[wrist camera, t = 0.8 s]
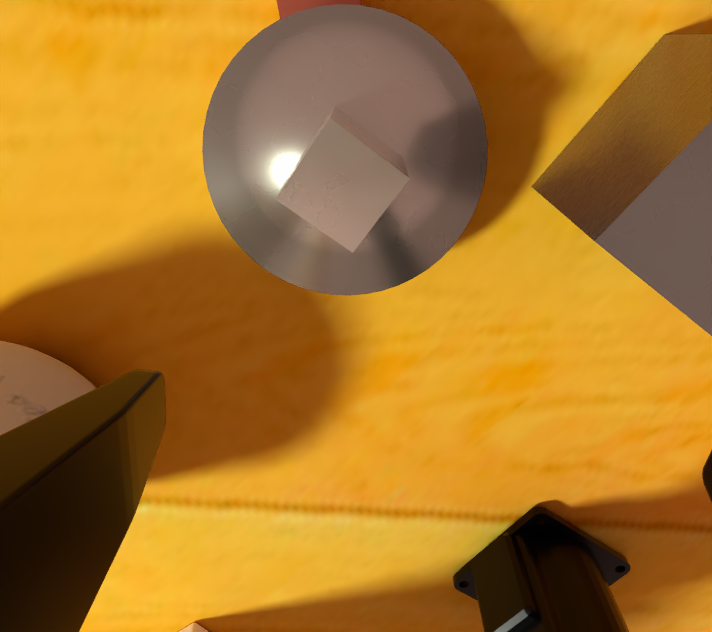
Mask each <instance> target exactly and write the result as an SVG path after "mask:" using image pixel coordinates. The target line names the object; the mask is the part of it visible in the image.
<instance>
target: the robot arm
mask: <svg viewBox="0 0 712 632" xmlns="http://www.w3.org/2000/svg"><path fill="white" fill-rule="evenodd" d="M165 423H166V401H165V381H164V377H163V374H162V373H161V372H159V371H150V370H141V369H136V370H133V371H131V372H129V373H127V374H125V375H123V376H120V377H118V378H116V379H114V380H112V381H110V382H108V383H106V384H104V385H102V386H100V387H98V388H96V389H94V390H92V391H90V392H88V393H86V394H84V395H82V396H79V397H77V398H75V399H73V400H71V401H69V402H67V403H65V404H63V405H61V406H59V407H57V408H55V409H53V410H51V411H49V412H47V413H45V414H43V415H41V416H38V417H36V418H34V419H32V420H30V421H28V422H26V423H24V424H22V425H20V426H18V427H16V428H14V429H12V430H10V431H8V432H6V433H4V434H2V435H0V632H79V631H80V628H81V626H82V624H83V622H84V620H85V618H86V616H87V614H88V612H89V610H90V608H91V606H92V603H93V601H94V599H95V597H96V595H97V593H98V591H99V589H100V587H101V585H102V583H103V581H104V579H105V576H106V574H107V572H108V570H109V568H110V566H111V564H112V562H113V560H114V558H115V556H116V554H117V552H118V549H119V547H120V545H121V543H122V541H123V539H124V537H125V535H126V533H127V531H128V529H129V526H130V524H131V522H132V520H133V517H134V515H135V513H136V510H137V507H138V504H139V502H140V499H141V496H142V493H143V490H144V487H145V484H146V481H147V478H148V475H149V473H150V470H151V467H152V464H153V461H154V458H155V455H156V452H157V449H158V446H159V443H160V440H161V437H162V435H163V432H164V428H165ZM702 477H703V482H704V485H705V488H706V490H707V493H708V495H709V497H710V500H711V502H712V451H711V453H710V455H709V457H708V459H707V461H706V463H705V465H704V467H703V472H702ZM539 517H541V518H539ZM537 518H538V519H537ZM629 571H630V565H629V563H628V561H627V559H626V558H625V557H624V556H622V555H621V554H619V553H617V552H616V551H614V550H613V549H611V548H609V547H608V546H606V545H604V544H603V543H601V542H600V541H598V540H596V539H595V538H593V537H591V536H590V535H588V534H586V533H585V532H583V531H582V530H580V529H578V528H577V527H575V526H573V525H572V524H570V523H568V522H567V521H565V520H564V519H562V518H560V517H559V516H557V515H555V514H554V513H552V512H550V511H549V510H547V509H546V508H543V507H536V508H533V509H532V510H530V511H529V512H528V513H527V514H525V515H524V516H523V517H522V518H521V519H520V520H518V521H517V522H516V523H515V524H514V525H512V526H511V527H510V528H509V529H508V530H506V531H505V532H504V533H503V534H502V535H501V536H499V537H498V538H497V539H496V540H495V541H493V542H492V543H491V544H490V545H489V546H488V547H486V548H485V549H484V550H483V551H482V552H480V553H479V554H478V555H477V556H476V557H475V558H473V559H472V560H471V561H470V562H469V563H467V564H466V565H465V566H464V567H463V568H461V569H460V570H459V571H458V572H457V573H456V574H455V575H454V576H453V581H454V586H455V588H456V589H457V590H459V591H461V592H463V593H465V594H466V595H468V596H470V597H472V598H474V599H476V600H478V604H479V608H480V613H481V618H482V623H483V628H484V632H629V630H628V627H627V625H626V623H625V621H624V619H623V616H622V614H621V612H620V610H619V608H618V605H617V603H616V601H615V599H614V597H613V594H612V592H611V590H610V588H609V586H610V585H611V584H613V583H614V582H616V581H617V580H618V579H620V578H621V577H623V576H624V575H625V574H627V573H628V572H629Z"/></svg>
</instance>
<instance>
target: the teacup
mask: <svg viewBox="0 0 712 632" xmlns="http://www.w3.org/2000/svg"><path fill="white" fill-rule="evenodd" d="M94 389H96V387H95V386H94V385H93V384H92V383H91V382H89V381H88V380H87V379H86V378H85V377H83V376H82V375H81V374H79V373H78V372H77V371H75V370H74V369H73V368H71V367H69V366H68V365H66V364H64V363H63V362H61V361H59V360H57V359H55V358H53V357H51V356H49V355H46V354H44V353H42V352H39V351H37V350H35V349H32V348H29V347H26V346H22V345H19V344H14V343H10V342H5V341H0V435H2V434H4V433H6V432H8V431H10V430H12V429H14V428H16V427H18V426H20V425H22V424H24V423H26V422H28V421H30V420H32V419H34V418H36V417H38V416H41V415H43V414H45V413H47V412H49V411H51V410H53V409H55V408H57V407H59V406H61V405H63V404H65V403H67V402H69V401H71V400H73V399H75V398H77V397H79V396H82V395H84V394H86V393H88V392H90V391H92V390H94Z"/></svg>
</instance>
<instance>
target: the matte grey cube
mask: <svg viewBox="0 0 712 632" xmlns="http://www.w3.org/2000/svg"><path fill="white" fill-rule="evenodd" d="M532 187H533V188H534V189H535V190H536V191H537V192H538V193H539V194H541V195H542V196H543V197H544V198H545V199H546V200H548V201H549V202H550V203H551V204H552V205H553V206H554V207H556V208H557V209H558V210H559V211H560V212H561V213H563V214H564V215H565V216H566V217H567V218H568V219H570V220H571V221H572V222H573V223H574V224H575V225H576V226H578V227H579V228H580V229H581V230H582V231H583V232H585V233H586V234H587V235H588V236H589V237H590V238H592V239H593V240H594V241H595V242H596V243H597V244H599V245H600V246H601V247H602V248H604V249H605V250H606V251H607V252H609V253H610V254H611V255H612V256H614V257H615V258H616V259H617V260H619V261H620V262H621V263H622V264H623V265H625V266H626V267H627V268H628V269H630V270H631V271H632V272H633V273H635V274H636V275H637V276H638V277H640V278H641V279H642V280H643V281H644V282H646V283H647V284H648V285H649V286H651V287H652V288H653V289H654V290H656V291H657V292H658V293H659V294H661V295H662V296H663V297H664V298H666V299H667V300H668V301H669V302H670V303H672V304H673V305H674V306H675V307H677V308H678V309H679V310H680V311H682V312H683V313H684V314H685V315H687V316H688V317H689V318H690V319H691V320H693V321H694V322H695V323H696V324H698V325H699V326H700V327H701V328H703V329H704V330H705V331H706V332H708V333H709V334H710V335H711V336H712V34H673V35H663V37H662V38H661V39H660V40H659V41H658V42H657V43H656V45H655V46H654V47H653V48H652V49H651V50H650V52H649V53H648V54H647V55H646V56H645V57H644V58H643V60H642V61H641V62H640V63H639V64H638V65H637V66H636V68H635V69H634V70H633V71H632V72H631V73H630V74H629V76H628V77H627V78H626V79H625V80H624V81H623V82H622V84H621V85H620V86H619V87H618V88H617V89H616V90H615V92H614V93H613V94H612V95H611V96H610V97H609V98H608V100H607V101H606V102H605V103H604V104H603V105H602V106H601V108H600V109H599V110H598V111H597V112H596V113H595V115H594V116H593V117H592V118H591V119H590V120H589V121H588V123H587V124H586V125H585V126H584V127H583V128H582V129H581V131H580V132H579V133H578V134H577V135H576V136H575V137H574V139H573V140H572V141H571V142H570V143H569V144H568V145H567V147H566V148H565V149H564V150H563V151H562V152H561V153H560V155H559V156H558V157H557V158H556V159H555V160H554V161H553V163H552V164H551V165H550V166H549V167H548V168H547V169H546V171H545V172H544V173H543V174H542V175H541V176H540V178H539V179H538V180H537V181H536V182H535V183H534V184H533V186H532Z"/></svg>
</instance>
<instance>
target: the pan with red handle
mask: <svg viewBox="0 0 712 632" xmlns="http://www.w3.org/2000/svg"><path fill="white" fill-rule="evenodd" d="M277 4H278V9H279V15H280V20H278V21H277V22H275V23H273V24H272V25H270V26H268V27H267V28H265V29H264V30H262V31H261V32H260V33H258V34H257V35H256V36H255V37H254V38H252V39H251V40H250V41H249V42H248V43H246V45H245V46H244V47H243V48H242V49H241V50H240V51H239V52H238V53H237V55H236V56H235V57H234V58H233V59H232V61H231V62H230V64H229V65H228V67H227V68H226V70H225V71H224V73H223V74H222V76H221V78H220V80H219V82H218V84H217V86H216V88H215V90H214V92H213V95H212V98H211V101H210V104H209V107H208V110H207V115H206V120H205V126H204V131H203V162H204V172H205V176H206V181H207V186H208V190H209V192H210V195H211V198H212V201H213V204H214V207H215V209H216V211H217V213H218V215H219V217H220V219H221V221H222V223H223V224H224V226H225V227H226V229H227V230H228V232H229V233H230V235H231V236H232V238H233V239H234V240H235V241H236V242H237V244H238V245H239V246H240V247H241V248H242V250H243V251H244V252H245V253H246V254H248V255H249V256H250V257H251V258H252V259H253V260H254V261H255V262H256V263H258V264H259V265H260V266H262V267H263V268H264V269H266V270H267V271H268V272H270V273H272V274H273V275H275V276H277V277H279V278H280V279H282V280H284V281H286V282H289V283H291V284H293V285H296V286H298V287H301V288H304V289H308V290H311V291H315V292H320V293H326V294H332V295H358V294H368V293H373V292H378V291H382V290H385V289H388V288H391V287H395V286H398V285H400V284H402V283H404V282H406V281H408V280H410V279H413V278H414V277H416V276H417V275H419V274H421V273H422V272H424V271H425V270H427V269H428V268H430V267H431V266H432V265H433V264H435V263H436V262H437V261H438V260H439V259H441V258H442V257H443V256H444V255H445V254H446V252H447V251H448V250H449V249H450V248H451V247H452V246H453V245H454V244H455V242H456V241H457V240H458V238H459V237H460V236H461V234H462V233H463V232H464V230H465V228H466V226H467V225H468V223H469V221H470V219H471V218H472V216H473V213H474V211H475V209H476V206H477V204H478V201H479V199H480V195H481V192H482V188H483V184H484V180H485V173H486V166H487V137H486V129H485V122H484V118H483V114H482V110H481V107H480V104H479V101H478V99H477V96H476V94H475V91H474V89H473V86H472V84H471V83H470V81H469V79H468V77H467V76H466V74H465V72H464V70H463V69H462V67H461V66H460V65H459V63H458V62H457V61H456V60H455V58H454V57H453V56H452V54H451V53H450V52H449V51H448V50H447V49H446V48H445V47H444V46H443V45H442V44H441V43H440V42H439V41H438V40H437V39H436V38H435V37H433V36H432V35H430V34H429V33H428V32H426V31H425V30H424V29H422V28H421V27H420V26H418V25H416V24H414V23H412V22H410V21H409V20H407V19H405V18H403V17H401V16H399V15H396V14H393V13H390V12H387V11H385V10H382V9H378V8H372V7H367V6H362V5H361V0H277Z"/></svg>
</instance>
